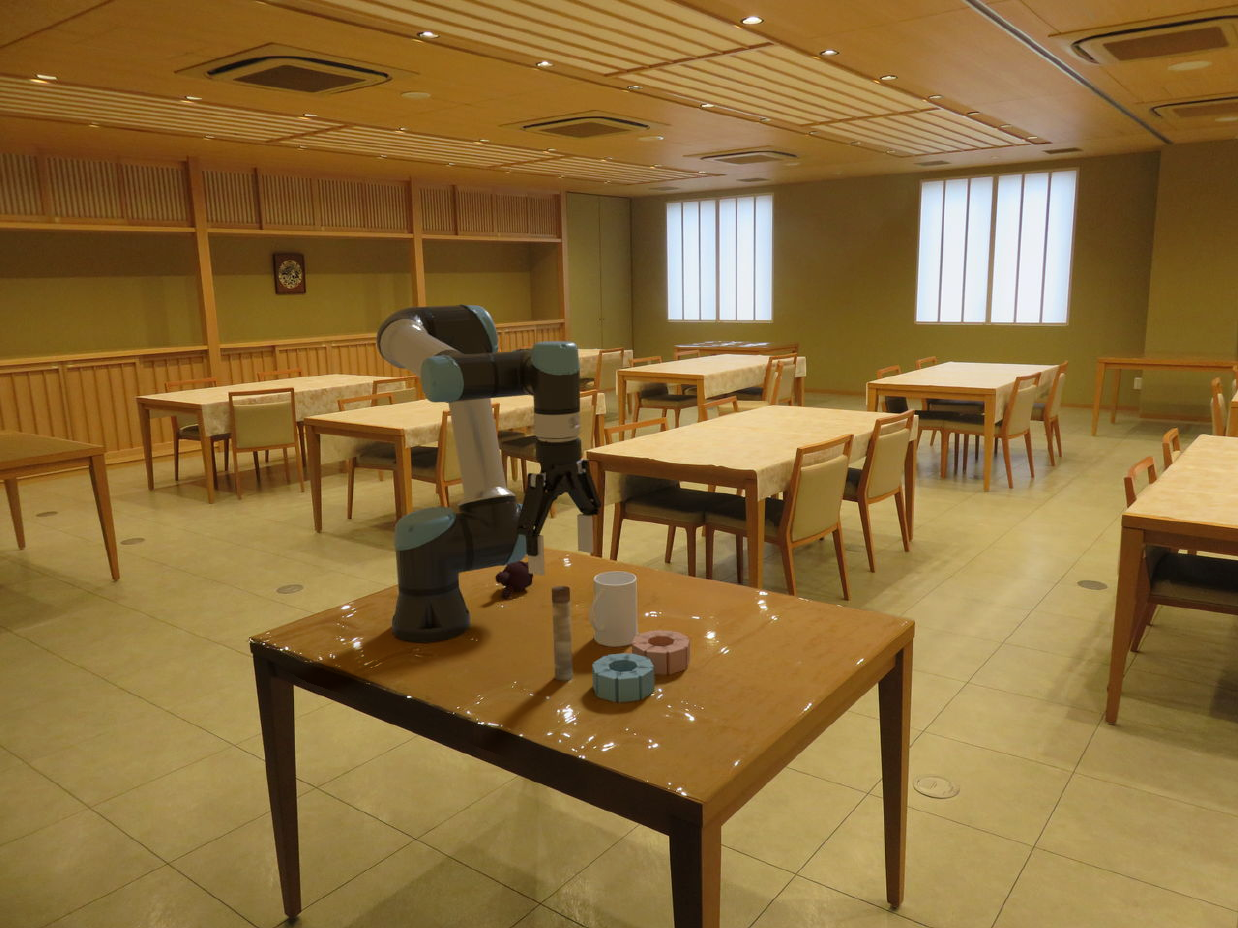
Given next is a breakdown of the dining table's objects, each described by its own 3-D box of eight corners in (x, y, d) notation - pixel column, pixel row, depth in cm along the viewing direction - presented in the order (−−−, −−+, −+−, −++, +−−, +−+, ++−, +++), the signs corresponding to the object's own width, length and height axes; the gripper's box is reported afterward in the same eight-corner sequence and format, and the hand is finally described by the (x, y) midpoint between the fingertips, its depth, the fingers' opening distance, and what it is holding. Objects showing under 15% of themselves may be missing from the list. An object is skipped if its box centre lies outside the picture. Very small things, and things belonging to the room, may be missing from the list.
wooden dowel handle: (551, 678, 155) (547, 590, 151) (562, 672, 157) (559, 584, 154) (565, 682, 153) (562, 593, 150) (576, 676, 155) (573, 587, 152)
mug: (605, 656, 163) (604, 593, 161) (572, 644, 169) (570, 583, 166) (648, 636, 172) (647, 576, 169) (615, 625, 177) (613, 567, 175)
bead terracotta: (628, 672, 157) (628, 650, 156) (639, 649, 166) (638, 628, 165) (684, 676, 155) (684, 654, 154) (692, 652, 164) (692, 632, 163)
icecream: (517, 550, 206) (480, 575, 194) (544, 545, 203) (508, 571, 190) (526, 578, 208) (490, 605, 195) (553, 574, 204) (518, 601, 191)
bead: (582, 692, 149) (581, 669, 149) (615, 670, 157) (615, 649, 156) (631, 707, 144) (631, 683, 143) (663, 683, 152) (663, 661, 151)
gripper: (527, 453, 134) (532, 588, 139) (619, 427, 155) (621, 546, 159) (489, 448, 139) (495, 579, 143) (584, 424, 159) (587, 539, 163)
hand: (562, 562), depth 151 cm, fingers open, 13 cm apart
